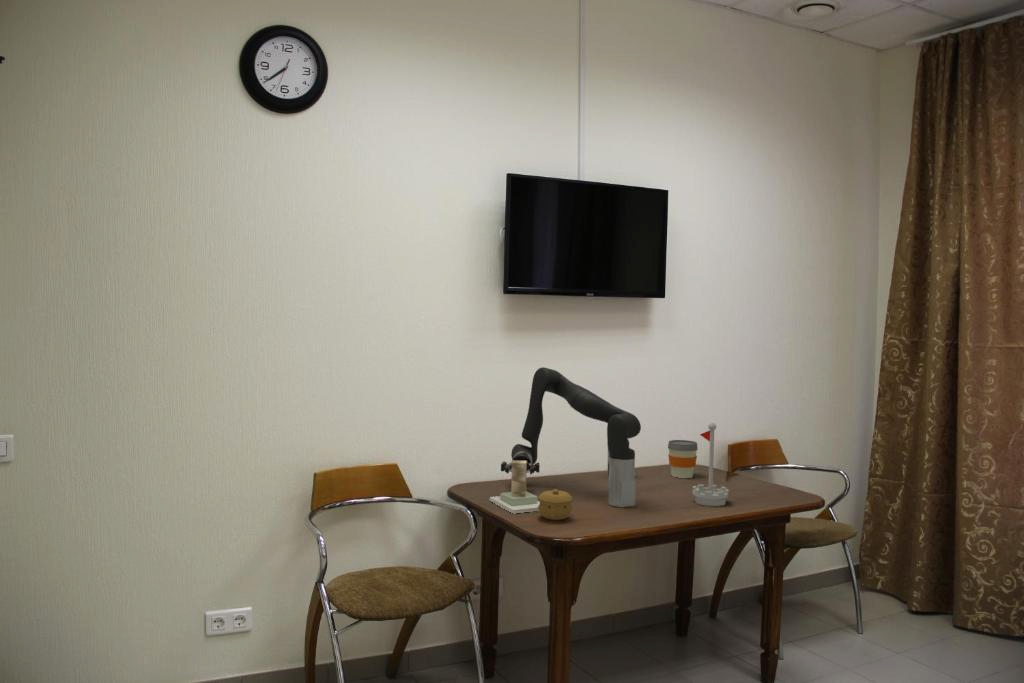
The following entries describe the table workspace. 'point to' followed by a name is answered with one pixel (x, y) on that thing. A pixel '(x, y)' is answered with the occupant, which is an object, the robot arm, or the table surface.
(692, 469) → the reusable coffee cup
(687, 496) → the table surface
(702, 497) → the flag stand
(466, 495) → the table surface
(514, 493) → the birch column
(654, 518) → the table surface
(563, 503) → the pot
